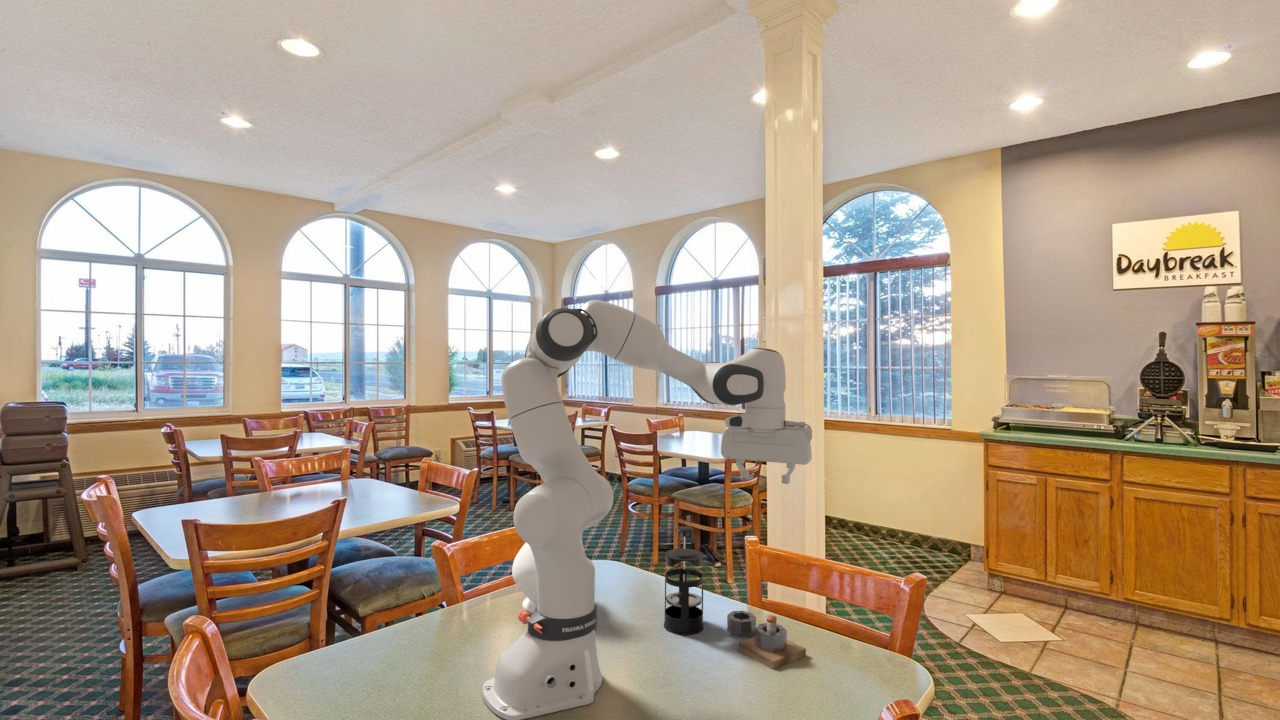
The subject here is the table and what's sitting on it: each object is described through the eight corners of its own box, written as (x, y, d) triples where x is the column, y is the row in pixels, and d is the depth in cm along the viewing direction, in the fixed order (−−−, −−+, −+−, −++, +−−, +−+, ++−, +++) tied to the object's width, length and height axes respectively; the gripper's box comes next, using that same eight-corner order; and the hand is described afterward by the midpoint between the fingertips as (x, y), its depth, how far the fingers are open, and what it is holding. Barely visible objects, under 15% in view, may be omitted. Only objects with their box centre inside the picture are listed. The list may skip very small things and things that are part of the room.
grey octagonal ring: (747, 639, 134) (748, 623, 134) (723, 632, 137) (723, 617, 137) (759, 630, 138) (759, 615, 139) (735, 623, 142) (735, 608, 142)
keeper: (772, 669, 121) (773, 631, 121) (737, 649, 129) (738, 614, 129) (805, 655, 126) (805, 620, 126) (770, 637, 135) (770, 604, 135)
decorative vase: (577, 619, 143) (578, 514, 144) (503, 617, 144) (505, 513, 144) (586, 591, 161) (587, 498, 161) (520, 590, 162) (521, 497, 162)
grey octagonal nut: (765, 653, 124) (765, 636, 124) (751, 641, 130) (751, 624, 130) (791, 650, 126) (791, 633, 126) (776, 637, 131) (776, 621, 131)
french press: (705, 636, 135) (706, 534, 135) (663, 636, 135) (664, 533, 135) (701, 615, 147) (702, 521, 147) (663, 614, 147) (664, 520, 147)
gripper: (815, 421, 133) (814, 483, 133) (727, 416, 143) (727, 474, 143) (808, 423, 128) (808, 488, 128) (718, 418, 137) (718, 479, 137)
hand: (765, 481), depth 135 cm, fingers open, 8 cm apart
